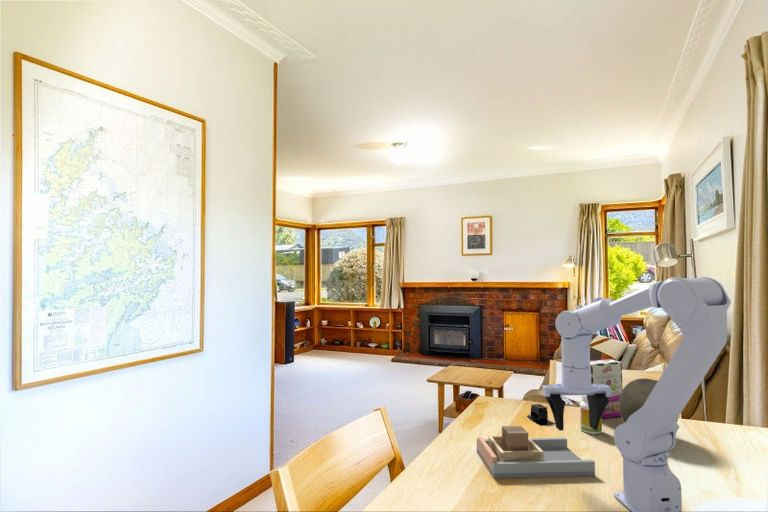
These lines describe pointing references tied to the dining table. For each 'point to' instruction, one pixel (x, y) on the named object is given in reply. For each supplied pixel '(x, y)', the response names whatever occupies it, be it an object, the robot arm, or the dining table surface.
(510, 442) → the walnut block
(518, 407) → the dining table surface
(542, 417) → the black box
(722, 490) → the dining table surface
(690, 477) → the dining table surface
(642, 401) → the dark grey ball
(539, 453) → the crate
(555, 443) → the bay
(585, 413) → the supplement bottle
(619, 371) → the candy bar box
